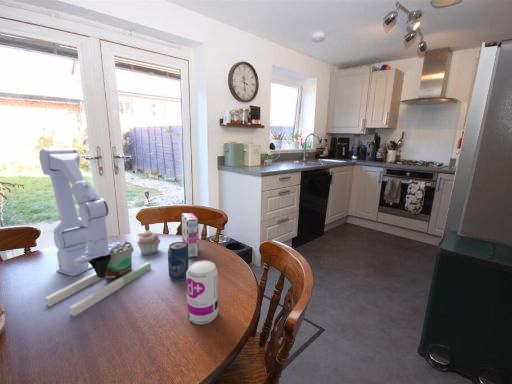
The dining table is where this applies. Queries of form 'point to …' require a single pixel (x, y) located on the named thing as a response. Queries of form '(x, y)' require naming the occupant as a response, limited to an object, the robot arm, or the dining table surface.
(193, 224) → the candy bar box
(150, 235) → the cupcake
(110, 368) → the dining table surface
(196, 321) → the supplement can
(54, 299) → the parallel rails
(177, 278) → the soda can
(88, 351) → the dining table surface
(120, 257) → the food container
